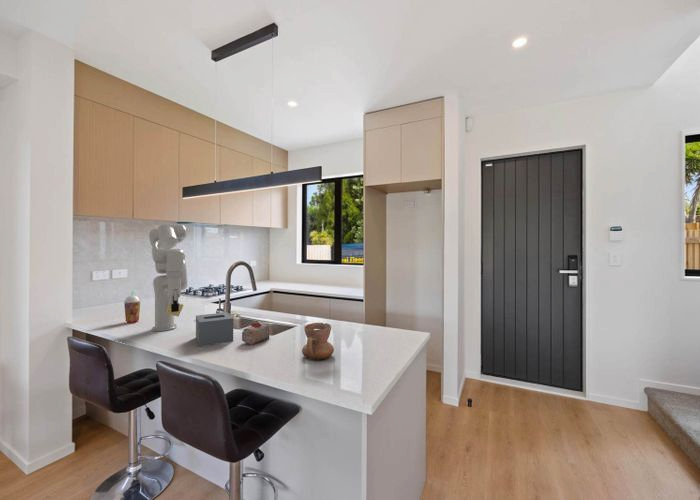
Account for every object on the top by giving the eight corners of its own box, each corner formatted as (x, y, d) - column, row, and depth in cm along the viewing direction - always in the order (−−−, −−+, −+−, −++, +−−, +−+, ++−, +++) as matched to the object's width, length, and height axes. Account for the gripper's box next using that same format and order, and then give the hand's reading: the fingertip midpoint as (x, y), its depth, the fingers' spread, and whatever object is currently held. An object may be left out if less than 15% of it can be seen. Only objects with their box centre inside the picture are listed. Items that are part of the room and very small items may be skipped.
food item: (252, 346, 149) (252, 326, 149) (240, 343, 153) (240, 324, 152) (270, 339, 161) (271, 320, 161) (259, 336, 165) (259, 318, 164)
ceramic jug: (313, 348, 147) (312, 319, 147) (340, 352, 142) (339, 322, 141) (293, 362, 131) (292, 330, 130) (322, 367, 125) (322, 333, 125)
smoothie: (120, 323, 187) (120, 291, 186) (132, 320, 195) (132, 289, 194) (132, 324, 185) (132, 292, 185) (143, 321, 193) (143, 290, 193)
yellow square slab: (165, 312, 149) (170, 301, 150) (178, 315, 152) (183, 304, 153) (165, 313, 147) (170, 301, 148) (178, 316, 150) (183, 305, 151)
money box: (195, 337, 161) (195, 315, 161) (227, 333, 170) (227, 312, 170) (199, 346, 148) (199, 322, 148) (233, 341, 156) (233, 318, 156)
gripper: (166, 273, 154) (165, 308, 155) (166, 276, 141) (166, 315, 141) (182, 272, 158) (182, 307, 159) (184, 276, 145) (184, 313, 145)
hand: (174, 310), depth 150 cm, fingers closed on yellow square slab, 1 cm apart
